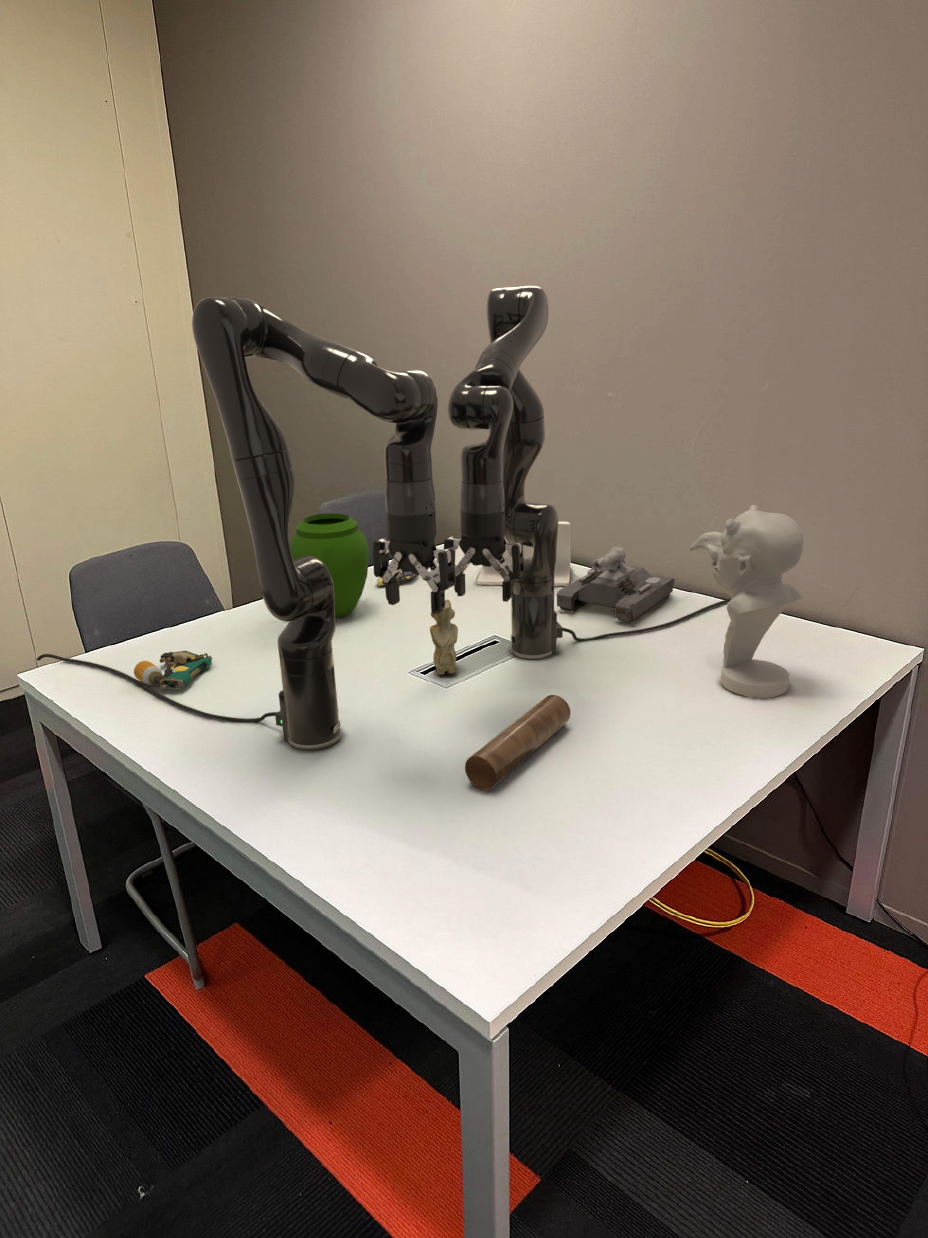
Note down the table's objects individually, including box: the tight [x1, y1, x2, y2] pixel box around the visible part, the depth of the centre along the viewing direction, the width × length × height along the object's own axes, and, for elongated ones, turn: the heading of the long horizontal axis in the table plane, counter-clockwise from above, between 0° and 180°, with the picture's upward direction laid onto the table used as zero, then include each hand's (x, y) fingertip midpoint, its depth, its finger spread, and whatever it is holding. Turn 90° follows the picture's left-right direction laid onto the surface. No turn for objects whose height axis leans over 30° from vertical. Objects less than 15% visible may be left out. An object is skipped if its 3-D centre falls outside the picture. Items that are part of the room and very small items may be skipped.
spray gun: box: [133, 650, 213, 690], centre depth 180 cm, size 4×17×15 cm
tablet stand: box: [476, 521, 572, 587], centre depth 236 cm, size 18×25×17 cm
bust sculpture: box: [688, 504, 804, 699], centre depth 167 cm, size 16×24×35 cm, turn 28°
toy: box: [556, 546, 676, 624], centre depth 212 cm, size 25×20×15 cm
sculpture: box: [429, 599, 459, 675], centre depth 177 cm, size 6×7×15 cm
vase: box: [289, 512, 370, 620], centre depth 209 cm, size 20×20×24 cm
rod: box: [464, 694, 571, 791], centre depth 145 cm, size 26×6×6 cm, turn 146°
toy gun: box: [376, 572, 417, 587], centre depth 240 cm, size 3×19×10 cm
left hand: (415, 608), depth 135 cm, fingers open, 8 cm apart
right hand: (483, 597), depth 150 cm, fingers open, 8 cm apart
